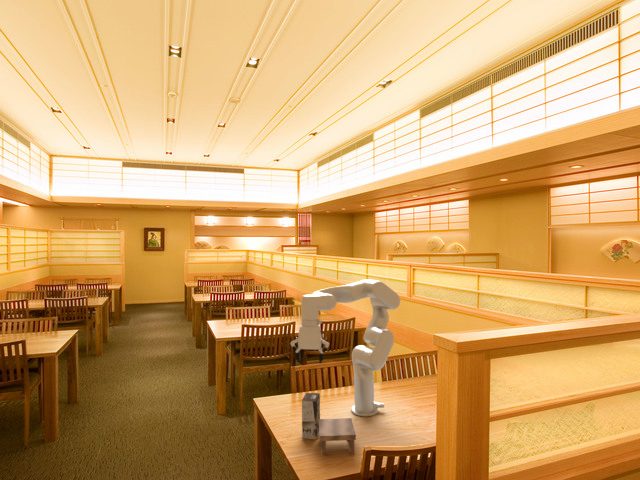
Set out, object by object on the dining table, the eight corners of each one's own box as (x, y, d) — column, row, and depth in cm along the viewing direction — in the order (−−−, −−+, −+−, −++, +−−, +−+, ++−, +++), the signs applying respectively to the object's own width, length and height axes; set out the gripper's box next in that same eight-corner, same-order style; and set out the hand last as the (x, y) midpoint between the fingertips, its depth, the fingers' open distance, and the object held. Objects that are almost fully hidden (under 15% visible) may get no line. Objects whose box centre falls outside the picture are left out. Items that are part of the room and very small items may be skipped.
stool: (351, 436, 166) (351, 418, 166) (356, 455, 152) (355, 434, 152) (318, 438, 166) (318, 419, 165) (320, 456, 152) (319, 436, 151)
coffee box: (316, 439, 164) (315, 401, 164) (301, 438, 166) (301, 400, 165) (321, 429, 173) (320, 392, 173) (306, 428, 175) (306, 391, 174)
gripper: (330, 321, 175) (330, 360, 175) (292, 320, 177) (292, 358, 177) (328, 325, 168) (328, 365, 168) (288, 324, 170) (288, 363, 170)
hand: (309, 361), depth 172 cm, fingers open, 9 cm apart
